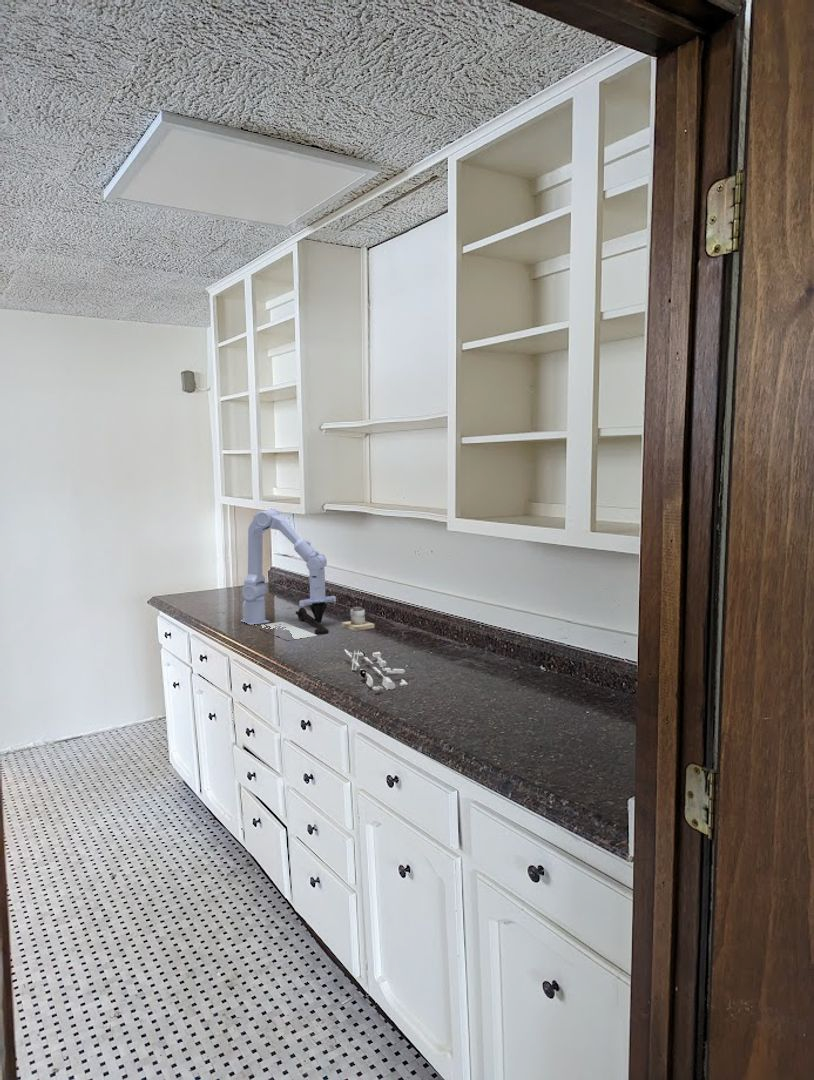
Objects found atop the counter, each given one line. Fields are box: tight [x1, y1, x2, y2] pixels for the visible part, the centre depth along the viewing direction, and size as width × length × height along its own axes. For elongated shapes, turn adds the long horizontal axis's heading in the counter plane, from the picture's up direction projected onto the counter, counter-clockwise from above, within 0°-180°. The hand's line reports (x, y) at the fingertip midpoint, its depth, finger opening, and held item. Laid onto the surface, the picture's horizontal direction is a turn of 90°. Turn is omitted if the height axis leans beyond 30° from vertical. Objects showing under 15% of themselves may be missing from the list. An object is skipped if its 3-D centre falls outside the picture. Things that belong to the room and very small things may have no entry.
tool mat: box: [260, 621, 319, 640], centre depth 256 cm, size 28×12×1 cm, turn 37°
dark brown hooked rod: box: [295, 606, 330, 636], centre depth 264 cm, size 5×5×30 cm
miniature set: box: [344, 649, 409, 691], centre depth 202 cm, size 6×35×12 cm
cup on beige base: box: [341, 606, 375, 632], centre depth 260 cm, size 10×8×7 cm
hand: (318, 622), depth 265 cm, fingers closed
